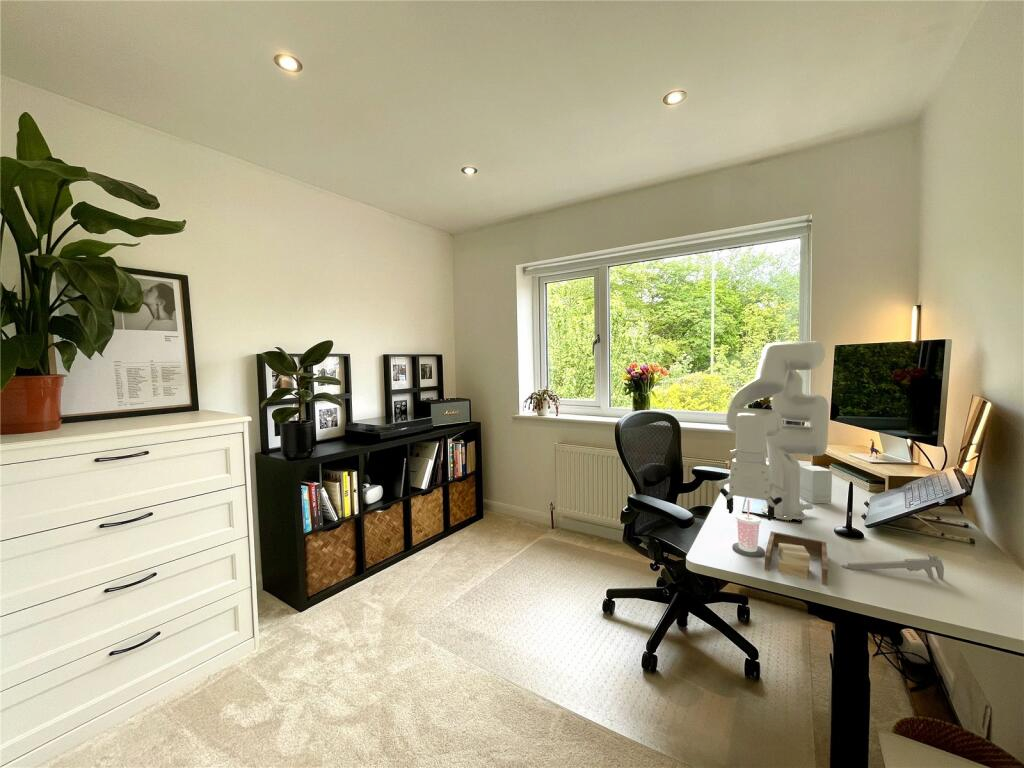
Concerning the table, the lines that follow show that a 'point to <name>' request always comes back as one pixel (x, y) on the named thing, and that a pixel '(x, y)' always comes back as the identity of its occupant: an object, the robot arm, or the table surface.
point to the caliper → (904, 565)
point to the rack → (810, 545)
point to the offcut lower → (793, 570)
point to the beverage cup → (748, 531)
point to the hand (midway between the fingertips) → (749, 515)
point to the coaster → (758, 553)
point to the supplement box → (815, 484)
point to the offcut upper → (794, 555)
